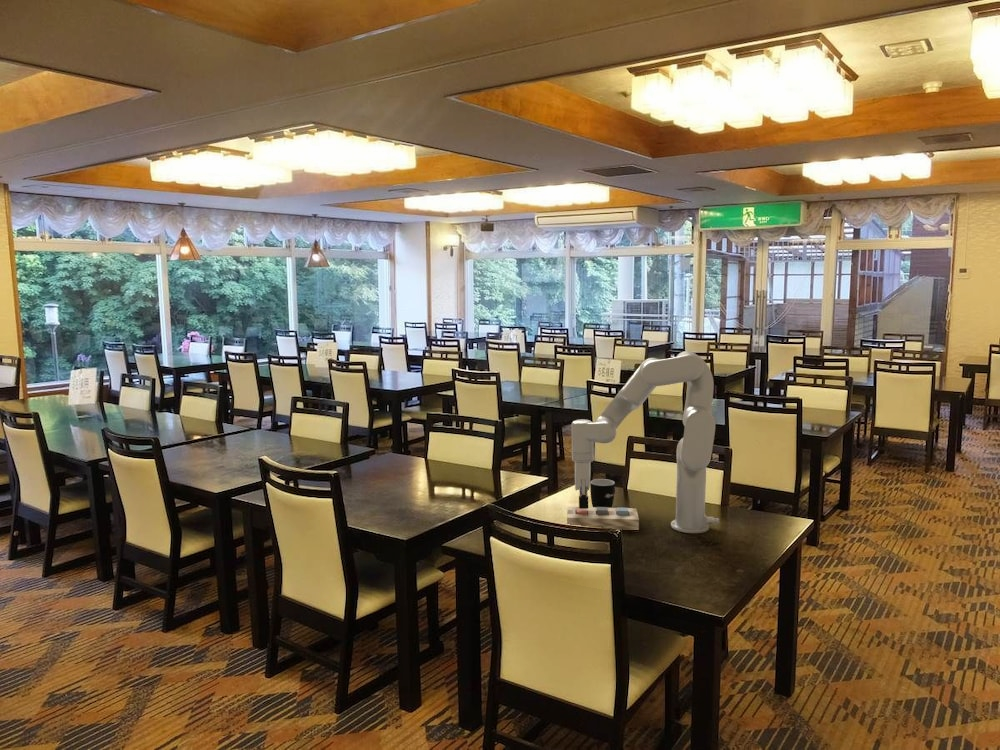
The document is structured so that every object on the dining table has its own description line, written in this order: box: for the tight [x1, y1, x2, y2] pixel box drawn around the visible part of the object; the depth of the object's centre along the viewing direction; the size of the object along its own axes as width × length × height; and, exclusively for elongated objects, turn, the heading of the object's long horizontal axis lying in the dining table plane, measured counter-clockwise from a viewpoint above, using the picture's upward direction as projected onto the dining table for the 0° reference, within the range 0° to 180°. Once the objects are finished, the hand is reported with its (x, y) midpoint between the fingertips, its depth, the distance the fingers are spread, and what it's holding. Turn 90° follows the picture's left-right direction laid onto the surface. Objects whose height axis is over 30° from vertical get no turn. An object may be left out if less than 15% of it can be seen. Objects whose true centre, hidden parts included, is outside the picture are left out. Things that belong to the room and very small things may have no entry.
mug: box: [589, 478, 616, 508], centre depth 267 cm, size 12×9×10 cm
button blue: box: [616, 507, 629, 516], centre depth 248 cm, size 4×4×3 cm
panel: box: [566, 506, 640, 532], centre depth 249 cm, size 24×12×4 cm, turn 84°
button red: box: [577, 509, 587, 514], centre depth 250 cm, size 4×4×3 cm
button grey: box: [597, 507, 608, 515], centre depth 249 cm, size 4×4×3 cm
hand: (583, 507), depth 250 cm, fingers closed
